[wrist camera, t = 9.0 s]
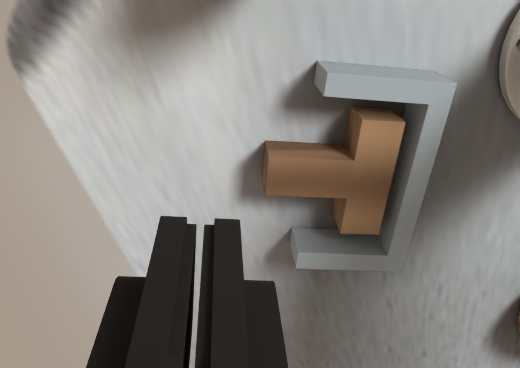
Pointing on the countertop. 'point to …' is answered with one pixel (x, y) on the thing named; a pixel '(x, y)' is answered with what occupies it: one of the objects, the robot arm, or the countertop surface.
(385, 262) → the pocket
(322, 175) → the T block
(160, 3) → the countertop surface
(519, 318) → the bread roll
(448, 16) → the countertop surface
